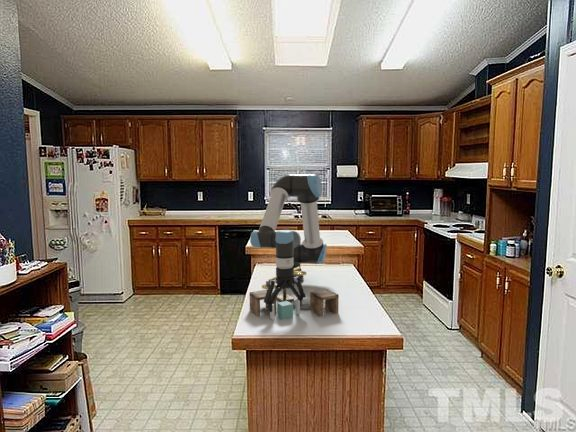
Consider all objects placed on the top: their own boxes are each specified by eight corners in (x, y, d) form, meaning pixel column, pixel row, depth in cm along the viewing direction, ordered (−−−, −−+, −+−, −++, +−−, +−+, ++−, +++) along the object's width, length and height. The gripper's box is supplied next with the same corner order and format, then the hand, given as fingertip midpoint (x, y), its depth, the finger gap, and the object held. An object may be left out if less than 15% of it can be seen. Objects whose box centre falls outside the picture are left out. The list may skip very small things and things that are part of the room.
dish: (287, 303, 189) (287, 301, 189) (309, 299, 194) (309, 297, 194) (299, 311, 178) (299, 308, 178) (322, 306, 184) (322, 304, 184)
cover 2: (310, 310, 179) (310, 292, 178) (327, 307, 183) (327, 289, 182) (321, 316, 171) (321, 297, 170) (338, 313, 175) (338, 294, 174)
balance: (259, 301, 192) (258, 270, 190) (301, 294, 203) (301, 264, 201) (266, 306, 185) (265, 273, 183) (309, 298, 196) (309, 267, 194)
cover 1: (249, 310, 180) (249, 292, 179) (267, 307, 184) (267, 289, 183) (257, 317, 172) (257, 297, 171) (276, 313, 176) (276, 294, 175)
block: (277, 316, 173) (277, 302, 172) (287, 314, 175) (287, 300, 174) (282, 319, 168) (282, 306, 168) (292, 317, 171) (292, 304, 170)
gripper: (262, 272, 160) (263, 324, 163) (313, 265, 171) (313, 314, 174) (255, 268, 167) (256, 318, 169) (304, 262, 178) (305, 309, 180)
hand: (285, 316), depth 171 cm, fingers open, 12 cm apart
